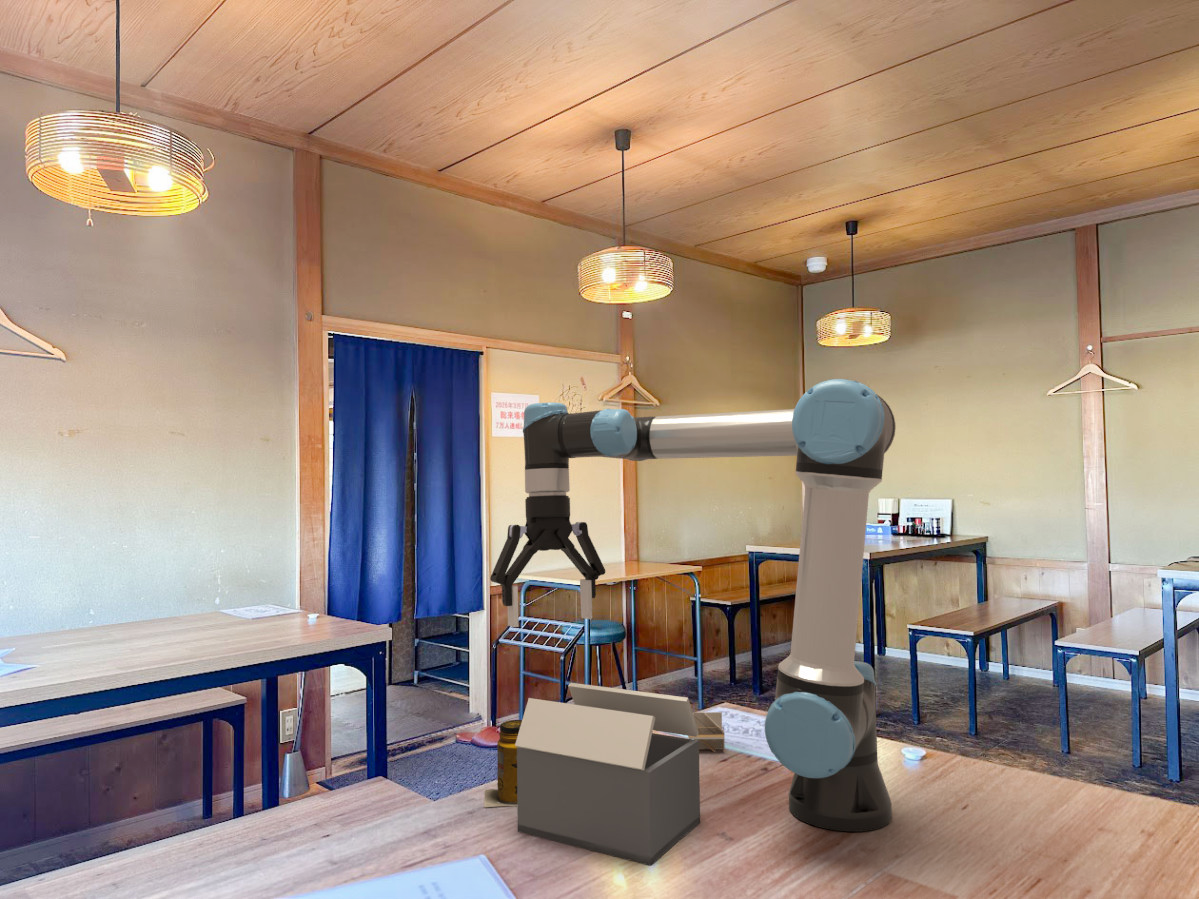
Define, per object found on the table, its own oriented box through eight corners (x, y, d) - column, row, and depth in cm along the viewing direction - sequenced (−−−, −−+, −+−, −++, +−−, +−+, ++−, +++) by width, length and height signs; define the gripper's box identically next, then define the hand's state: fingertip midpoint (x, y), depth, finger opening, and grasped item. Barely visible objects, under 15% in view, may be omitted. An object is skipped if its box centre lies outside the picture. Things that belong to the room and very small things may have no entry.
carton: (700, 822, 117) (698, 740, 118) (650, 865, 103) (649, 772, 104) (576, 795, 128) (576, 721, 129) (517, 831, 115) (517, 747, 116)
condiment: (537, 804, 125) (537, 728, 126) (484, 808, 124) (484, 731, 125) (535, 788, 132) (534, 716, 133) (484, 791, 131) (484, 718, 132)
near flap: (655, 717, 107) (653, 715, 107) (644, 770, 104) (641, 769, 104) (531, 699, 118) (528, 697, 118) (517, 747, 115) (514, 745, 114)
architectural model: (725, 757, 148) (725, 717, 149) (689, 757, 149) (688, 717, 149) (723, 751, 152) (722, 712, 152) (687, 751, 152) (686, 712, 153)
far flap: (696, 737, 119) (698, 733, 119) (686, 701, 116) (688, 697, 117) (580, 718, 129) (582, 715, 130) (568, 685, 127) (570, 682, 127)
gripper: (600, 494, 142) (604, 612, 140) (469, 496, 130) (471, 626, 128) (622, 492, 135) (626, 617, 134) (485, 495, 123) (488, 632, 121)
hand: (550, 622), depth 131 cm, fingers open, 13 cm apart
